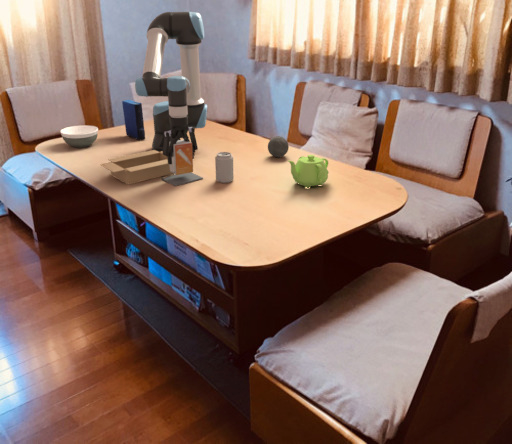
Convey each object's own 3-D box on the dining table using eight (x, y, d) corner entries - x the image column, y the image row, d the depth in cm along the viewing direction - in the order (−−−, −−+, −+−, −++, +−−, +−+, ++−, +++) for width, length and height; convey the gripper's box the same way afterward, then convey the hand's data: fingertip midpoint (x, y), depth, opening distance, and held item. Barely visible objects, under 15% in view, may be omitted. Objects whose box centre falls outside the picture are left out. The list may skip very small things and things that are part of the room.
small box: (176, 175, 222) (174, 145, 217) (169, 171, 227) (167, 141, 221) (193, 172, 226) (192, 142, 221) (187, 168, 231) (185, 138, 226)
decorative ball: (277, 161, 251) (278, 140, 247) (263, 156, 258) (263, 136, 253) (292, 157, 257) (293, 136, 253) (278, 152, 264) (278, 132, 259)
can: (236, 178, 228) (235, 151, 223) (229, 184, 222) (229, 157, 217) (220, 177, 231) (219, 150, 226) (213, 182, 224) (212, 155, 219)
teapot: (319, 194, 212) (321, 164, 207) (286, 189, 217) (287, 159, 212) (331, 181, 226) (333, 152, 221) (299, 176, 231) (300, 148, 226)
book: (147, 139, 285) (143, 102, 276) (138, 141, 281) (134, 103, 273) (133, 134, 294) (129, 98, 286) (124, 136, 291) (120, 99, 283)
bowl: (107, 143, 277) (106, 128, 274) (79, 152, 263) (77, 136, 260) (83, 138, 287) (81, 123, 283) (54, 147, 272) (52, 131, 269)
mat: (189, 172, 236) (188, 171, 235) (203, 179, 228) (203, 177, 228) (161, 179, 228) (161, 178, 227) (174, 186, 220) (174, 185, 220)
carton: (166, 160, 252) (165, 147, 249) (190, 171, 237) (189, 158, 234) (97, 175, 232) (95, 162, 229) (119, 189, 217) (118, 174, 214)
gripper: (195, 110, 225) (197, 162, 235) (150, 117, 213) (155, 171, 222) (205, 113, 220) (207, 166, 229) (160, 121, 208) (164, 176, 217)
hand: (181, 168), depth 226 cm, fingers closed on small box, 8 cm apart
